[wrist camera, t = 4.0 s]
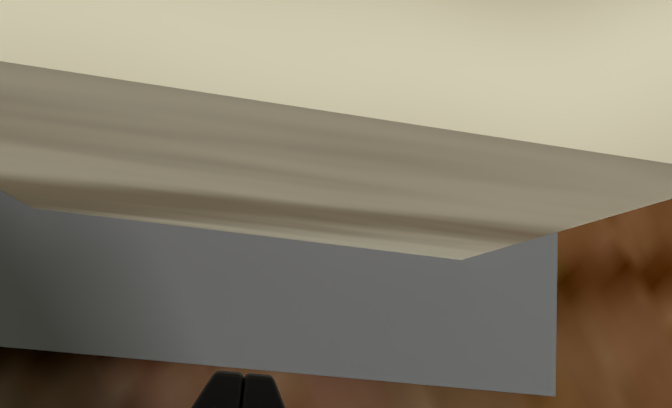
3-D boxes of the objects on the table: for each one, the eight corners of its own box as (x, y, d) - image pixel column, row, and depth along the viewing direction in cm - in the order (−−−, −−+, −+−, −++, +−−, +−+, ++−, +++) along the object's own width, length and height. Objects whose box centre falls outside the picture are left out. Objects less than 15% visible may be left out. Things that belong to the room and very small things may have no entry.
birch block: (460, 259, 17) (750, 175, 7) (32, 208, 15) (-318, 11, 6) (469, 102, 18) (730, -152, 8) (70, 38, 16) (-173, -367, 7)
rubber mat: (544, 394, 17) (555, 396, 17) (-111, 334, 15) (-125, 335, 14) (555, -207, 22) (563, -221, 21) (62, -326, 20) (56, -346, 19)
